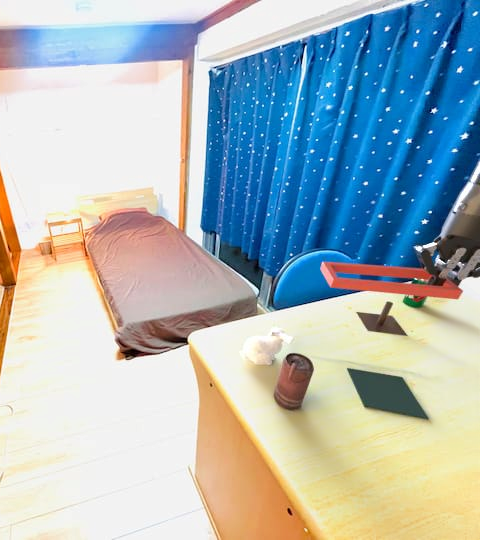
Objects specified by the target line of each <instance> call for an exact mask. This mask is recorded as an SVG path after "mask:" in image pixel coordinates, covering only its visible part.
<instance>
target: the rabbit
mask: <svg viewBox="0 0 480 540" xmlns="http://www.w3.org/2000/svg"><path fill="white" fill-rule="evenodd" d="M293 340H294V337H292V336H289V335H287V334H285V332H284V330H283V329H282V328H280V327H272V328H271V329H270V331H269V333H268V335H266V336H261V335H254V336H252V337H249V338H248V339H247V340H246V341H245V342H244V345H243V350H242V349H241V350H240V351H239V353H240V354H239V355H240V357H241V358H242V359H243V360H245V361H248V362H249V361H250V362H252V363H253V364H254V365H256V366H257V365H258V366H259V365H260V366H261V365H263V366H265V365H267V366H271V365H272V364H273V361H274V360H275V359H276V355H277V354H279V353H280V352H281V350H282V347H283V342H285V343H287V344H288V345H290V344H291V343H292V341H293Z"/></svg>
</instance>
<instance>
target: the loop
mask: <svg viewBox="0 0 480 540" xmlns="http://www.w3.org/2000/svg"><path fill="white" fill-rule="evenodd" d="M320 271H321V273H322V275H323V277H324V279H325V280H326V282H327V284H328V286H329V287H330V289H331V288H332V289H333V288H334V289H342V290H343V289H344V290H353V291H363V292H374V293H384V294H385V293H386V294H394V295H395V294H396V295H404V296H405V295H416V296H426V297H427V298H436V299H437V298H438V299H439V298H440V299H447V300H459V299H460V297H461V296H462V295H463V293H464V290H463V289H462V288H461V287H459V286H457V285H455V284H454V283H453V282H451V281H450V280H449V279H448V278H446V279H447V280H446V281H445V283H444V284H443V286H433V285H421V284H411V283H409V282H397V281H396V282H395V281H385V280H373V279H363V278H362V279H361V278H349V277H339V276H338V275H337V274H350V275H351V274H352V275H363V276H377V277H390V278H401V279H412V280H413V279H425V280H429V279H430V277H431V275H430V274H429V273H428V272H427V271H426V270H424V269H423V268H422V267H421V268H420V267H419V268H418V267H404V266H393V265H392V266H390V265H376V264H363V263H347V262H333V261H322V262H321V265H320Z"/></svg>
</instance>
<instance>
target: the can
mask: <svg viewBox="0 0 480 540" xmlns="http://www.w3.org/2000/svg"><path fill="white" fill-rule="evenodd" d="M280 366H281V367H280V370H279V373H278V377H277V381H276V384H275V387H274V391H273V398H274V400H275V402H276V404H277V405H279V407H281V408H282V409H284V410H288V411H291V412H292V411H297V410H299V409H301V407H302V404H303V402H304V400H305V396H306V393H307V391H308V388H309V385H310V382H311V380H312V377H313V374H314V370H315V367H314V363H313V362H312V360H311V359H310V358H309V357H307V356H306V355H304V354H302V353H297V352H290V353H288V354H286V356H284V357H283V359H282V362H281V365H280Z"/></svg>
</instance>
